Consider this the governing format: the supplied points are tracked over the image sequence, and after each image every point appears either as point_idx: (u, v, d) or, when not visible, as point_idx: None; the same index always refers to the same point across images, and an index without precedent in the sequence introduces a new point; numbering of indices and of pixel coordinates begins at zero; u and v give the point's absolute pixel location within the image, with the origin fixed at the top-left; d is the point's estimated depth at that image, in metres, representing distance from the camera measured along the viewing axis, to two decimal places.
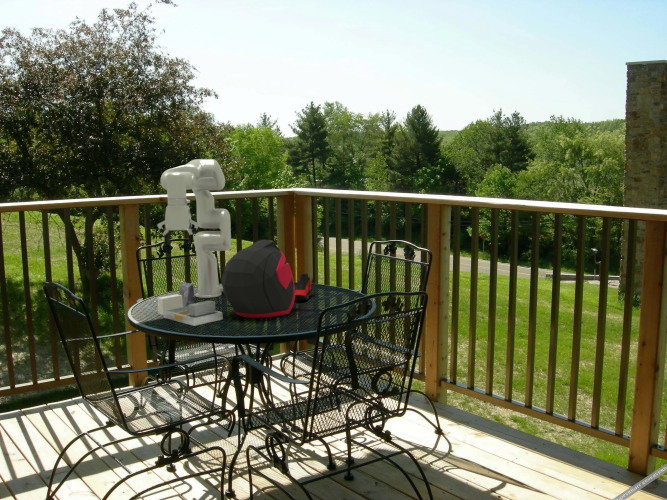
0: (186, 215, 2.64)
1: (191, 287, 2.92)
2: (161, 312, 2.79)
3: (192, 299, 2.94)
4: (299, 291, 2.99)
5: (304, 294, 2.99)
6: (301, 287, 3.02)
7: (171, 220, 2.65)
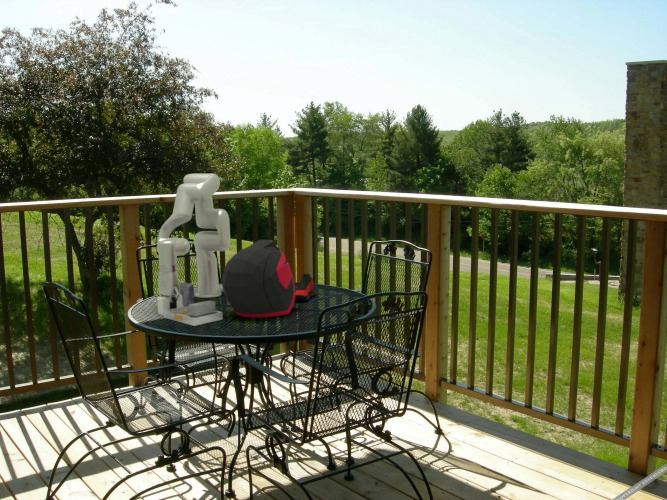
0: None
1: (191, 287, 2.92)
2: (161, 312, 2.78)
3: (192, 299, 2.94)
4: (300, 291, 2.99)
5: (305, 294, 2.98)
6: (302, 287, 3.02)
7: None
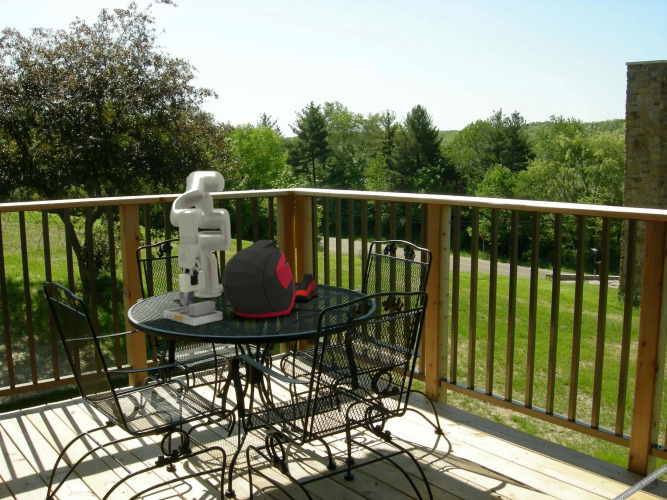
0: None
1: None
2: (183, 289, 2.65)
3: (192, 299, 2.94)
4: (300, 291, 2.99)
5: (305, 294, 2.98)
6: (303, 287, 3.02)
7: None
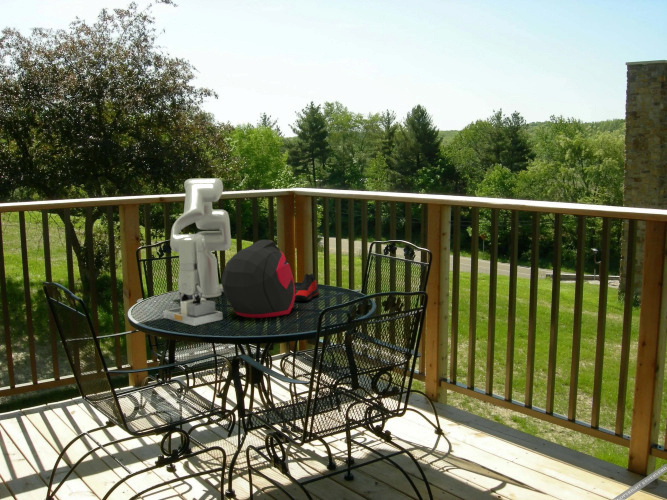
0: None
1: None
2: None
3: None
4: (301, 291, 2.99)
5: (305, 294, 2.98)
6: (304, 287, 3.01)
7: None
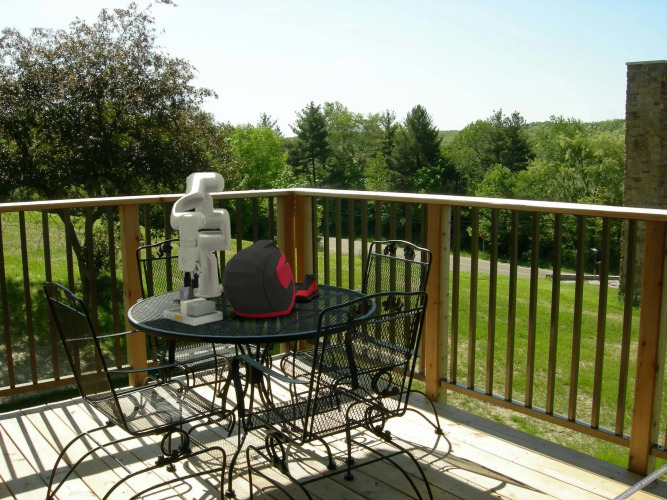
0: None
1: (191, 287, 2.92)
2: None
3: None
4: (301, 291, 2.98)
5: (305, 294, 2.97)
6: (304, 287, 3.01)
7: None
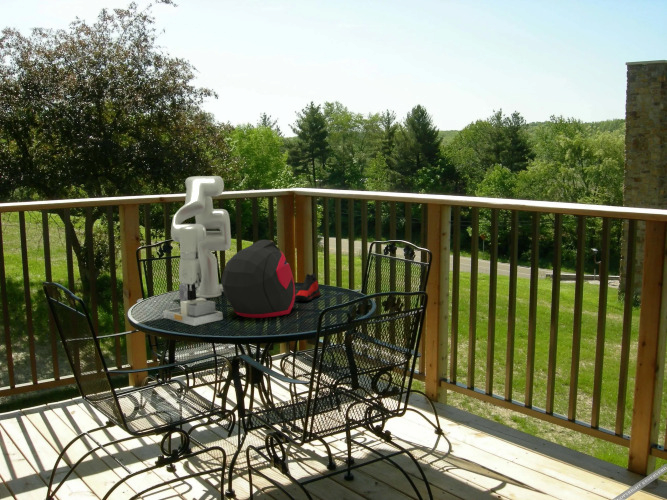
0: None
1: None
2: None
3: None
4: (301, 291, 2.98)
5: (306, 295, 2.97)
6: (304, 287, 3.01)
7: None
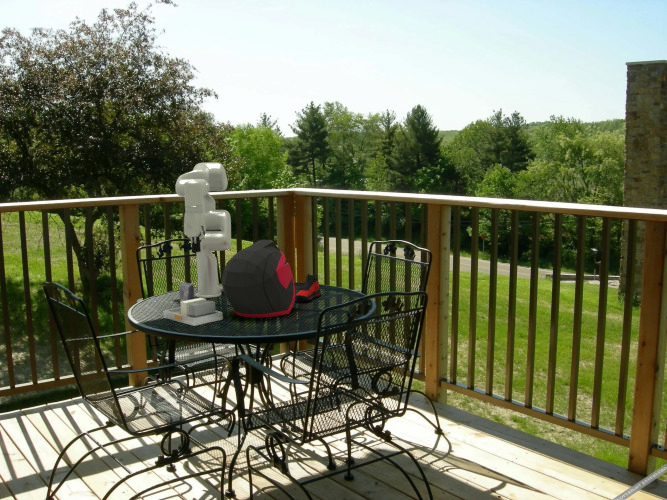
0: None
1: (191, 287, 2.92)
2: None
3: None
4: (301, 291, 2.98)
5: (306, 295, 2.97)
6: (305, 288, 3.01)
7: None
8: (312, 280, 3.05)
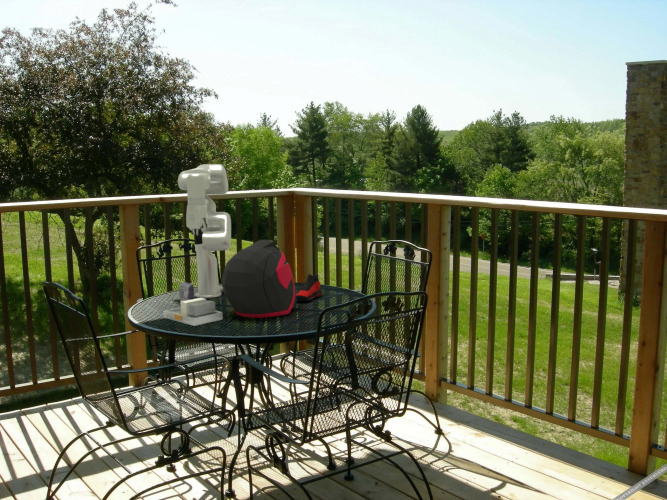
0: None
1: (191, 287, 2.92)
2: None
3: None
4: (302, 292, 2.98)
5: (306, 295, 2.97)
6: (305, 288, 3.00)
7: None
8: (313, 280, 3.05)
